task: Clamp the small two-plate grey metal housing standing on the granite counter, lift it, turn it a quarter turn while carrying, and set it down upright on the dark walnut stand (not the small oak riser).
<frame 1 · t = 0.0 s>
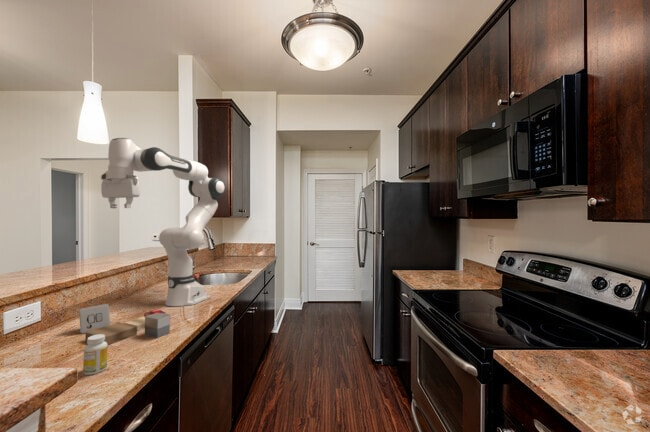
hand: (120, 208, 122), 48 cm above the countertop, tool pointing down, fingers open, 8 cm apart
housing: (157, 334, 109), on the countertop
supplement bottle: (95, 371, 82), on the countertop
electrical switch: (93, 330, 113), on the countertop
walnut stand: (111, 337, 105), on the countertop
oak riser: (140, 325, 117), on the countertop
race car: (157, 320, 125), on the countertop
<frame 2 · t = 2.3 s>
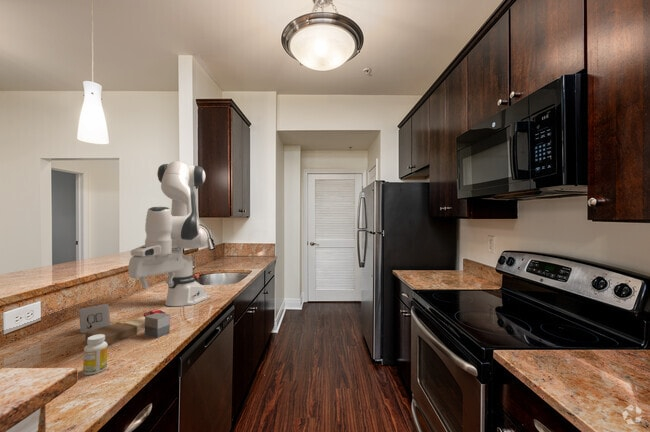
hand: (157, 285, 109), 18 cm above the countertop, tool pointing down, fingers open, 8 cm apart
nothing on the countertop moved.
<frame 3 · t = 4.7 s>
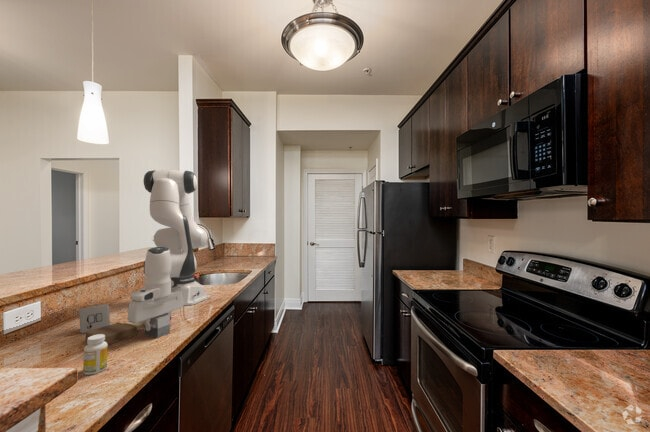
hand: (157, 327, 109), 3 cm above the countertop, tool pointing down, fingers closed on housing, 5 cm apart
housing: (157, 334, 109), on the countertop, touching gripper
everything else where it was.
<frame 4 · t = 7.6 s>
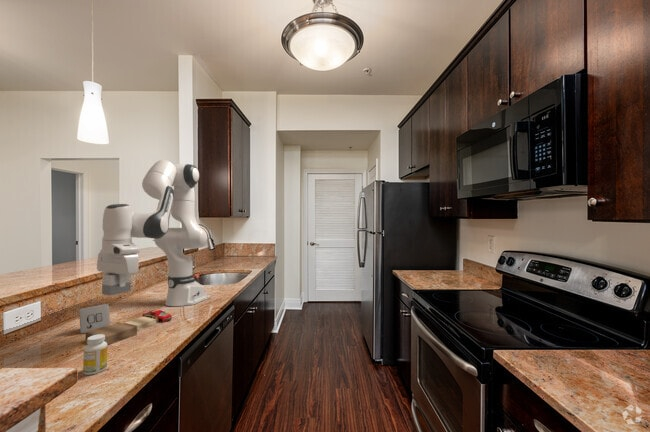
hand: (116, 285, 105), 19 cm above the countertop, tool pointing down, fingers closed on housing, 5 cm apart
housing: (116, 292, 105), point 16 cm above the countertop, touching gripper
everything else where it was.
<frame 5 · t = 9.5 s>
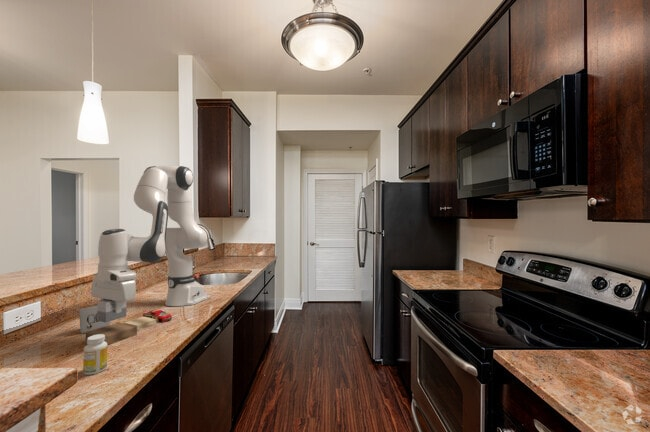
hand: (112, 311, 105), 10 cm above the countertop, tool pointing down, fingers closed on housing, 5 cm apart
housing: (111, 318, 105), point 7 cm above the countertop, touching gripper
everything else where it was.
when the fingers open (7 cm above the countertop, at t = 10.9 s): housing drops 1 cm, resting on walnut stand.
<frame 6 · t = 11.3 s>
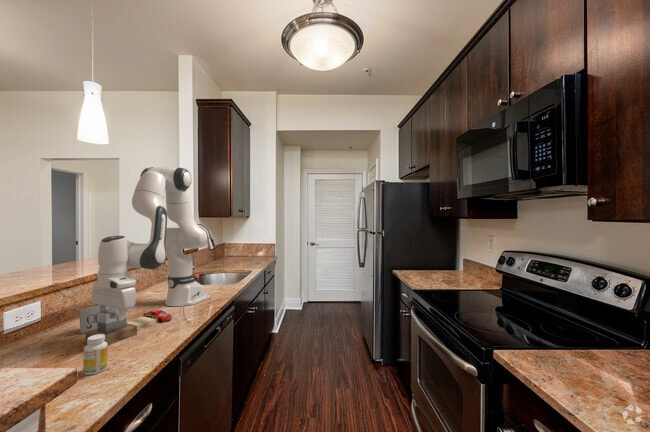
hand: (112, 318, 105), 7 cm above the countertop, tool pointing down, fingers open, 8 cm apart
housing: (112, 329, 105), point 3 cm above the countertop, touching walnut stand
everything else where it was.
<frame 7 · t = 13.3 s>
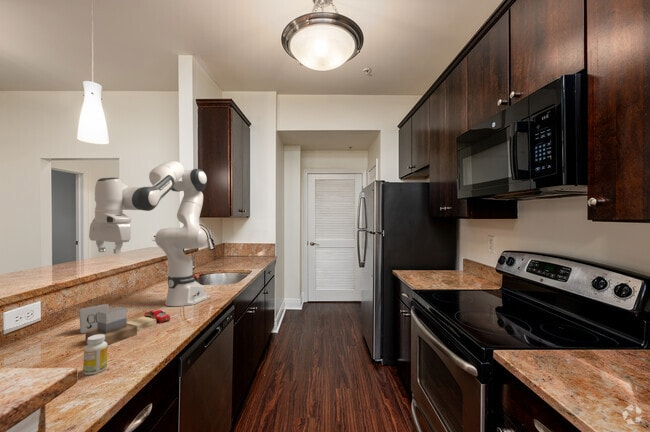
hand: (109, 252, 114), 30 cm above the countertop, tool pointing down, fingers open, 8 cm apart
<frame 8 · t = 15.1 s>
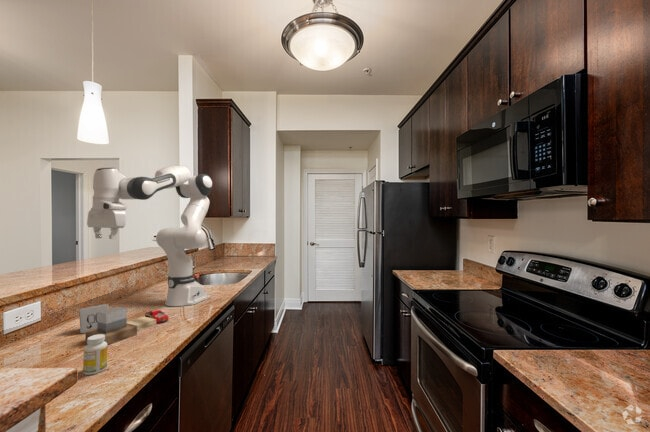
hand: (105, 238, 120), 35 cm above the countertop, tool pointing down, fingers open, 8 cm apart
at the end: housing inside the target area on the walnut stand (0.1 cm from its centre), point 3.0 cm above the walnut stand's base; housing tilted 0°; the gripper is holding nothing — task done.
